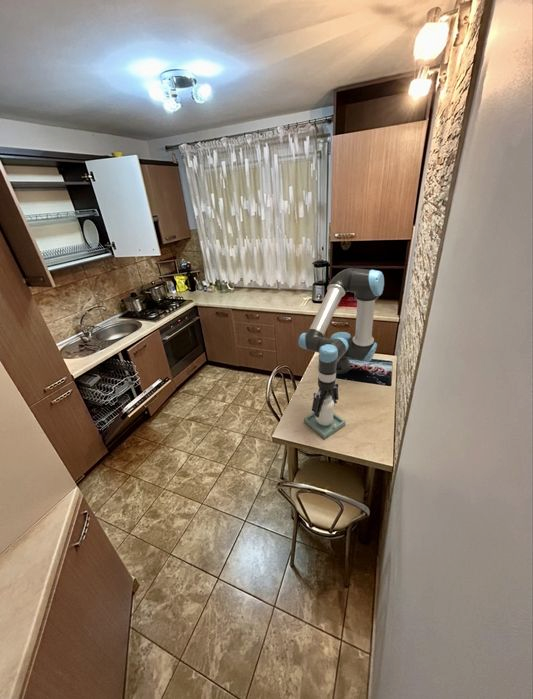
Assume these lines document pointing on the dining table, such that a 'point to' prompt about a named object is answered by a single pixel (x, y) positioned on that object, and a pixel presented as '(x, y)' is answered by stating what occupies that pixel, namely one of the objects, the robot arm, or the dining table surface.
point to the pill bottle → (327, 411)
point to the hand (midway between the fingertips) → (324, 416)
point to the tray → (324, 429)
